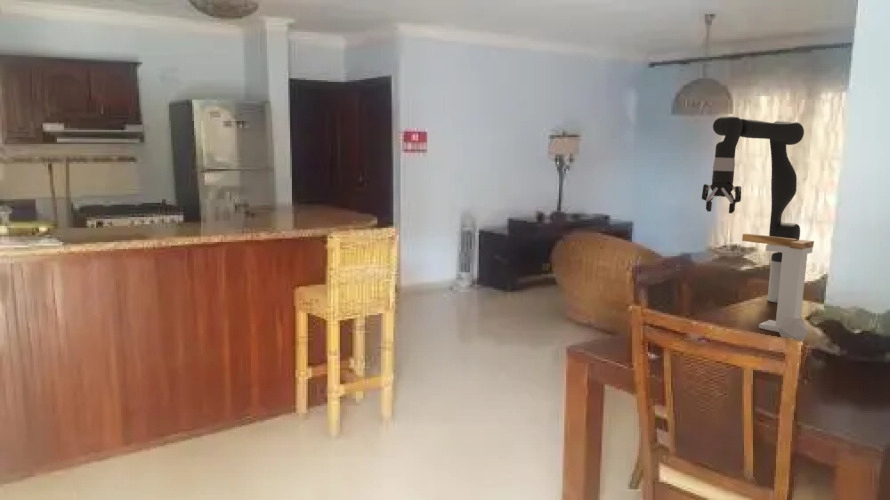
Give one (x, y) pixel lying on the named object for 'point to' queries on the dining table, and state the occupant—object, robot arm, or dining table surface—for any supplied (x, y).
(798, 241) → the t bar
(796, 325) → the die
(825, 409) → the dining table surface
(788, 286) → the i beam
